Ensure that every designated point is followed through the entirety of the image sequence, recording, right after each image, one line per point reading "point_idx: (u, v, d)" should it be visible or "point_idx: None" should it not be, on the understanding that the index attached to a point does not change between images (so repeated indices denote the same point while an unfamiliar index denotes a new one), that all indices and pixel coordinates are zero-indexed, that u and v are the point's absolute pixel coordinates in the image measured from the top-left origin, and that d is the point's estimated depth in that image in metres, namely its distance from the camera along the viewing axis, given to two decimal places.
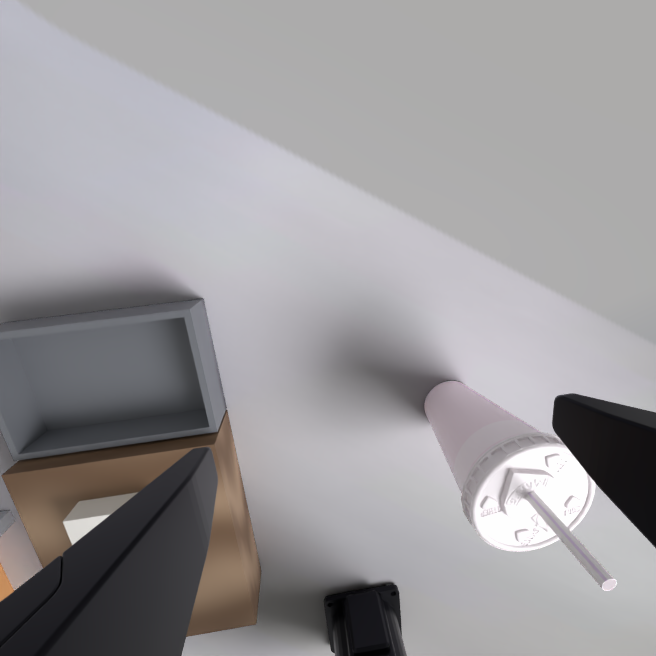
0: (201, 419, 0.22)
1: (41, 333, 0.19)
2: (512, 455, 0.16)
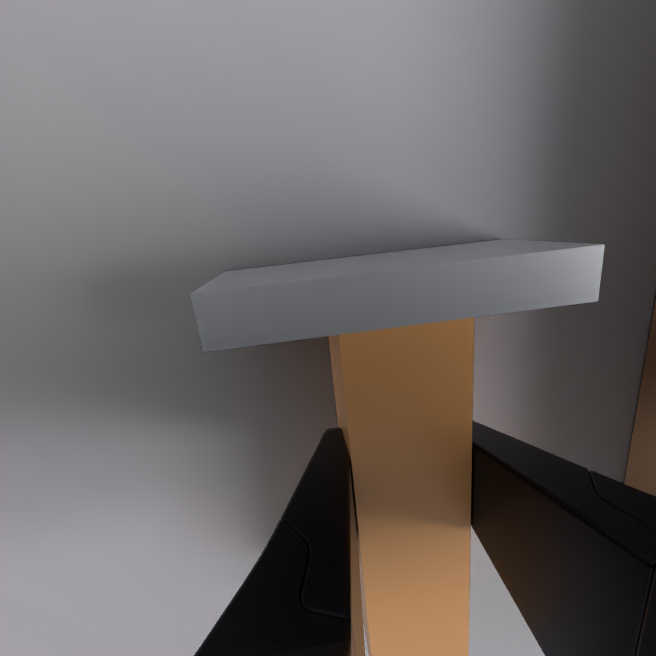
0: None
1: None
2: None
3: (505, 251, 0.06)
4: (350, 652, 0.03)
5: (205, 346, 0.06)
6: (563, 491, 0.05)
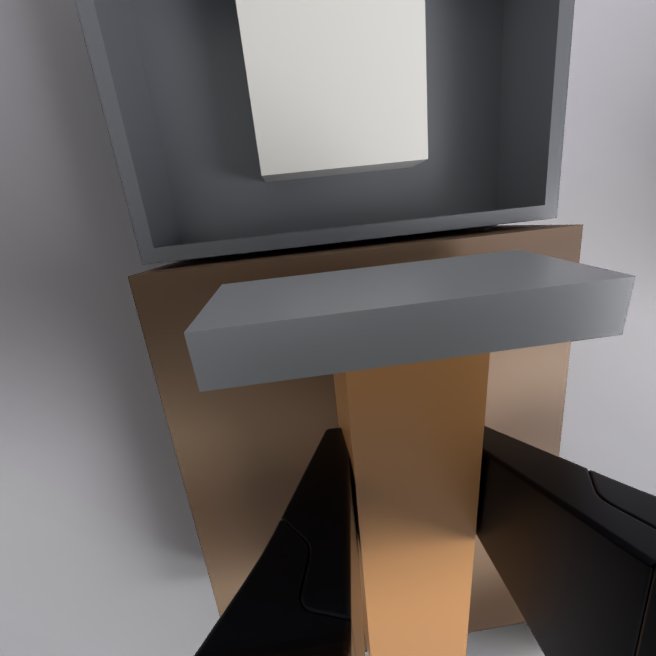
0: (498, 209, 0.11)
1: None
2: None
3: (525, 278, 0.06)
4: (350, 653, 0.03)
5: (202, 386, 0.05)
6: (563, 491, 0.05)
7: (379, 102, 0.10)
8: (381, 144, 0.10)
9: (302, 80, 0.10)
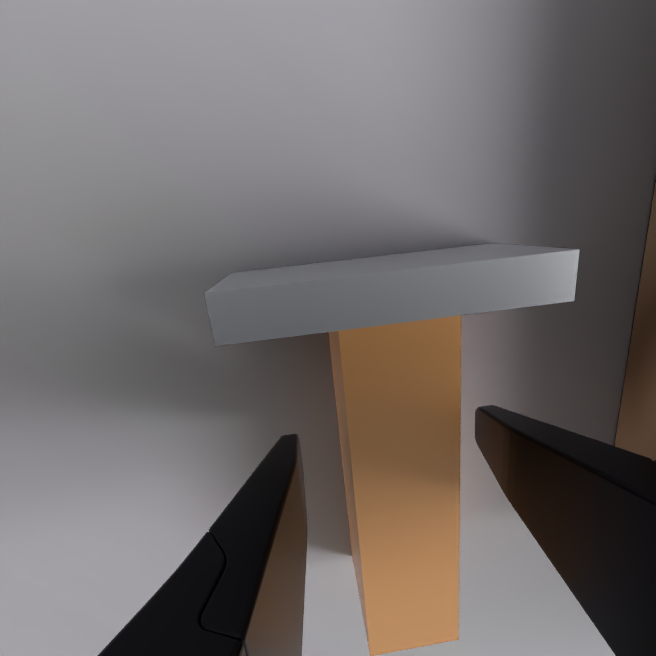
0: None
1: None
2: None
3: (490, 255, 0.07)
4: None
5: (217, 341, 0.06)
6: (633, 480, 0.05)
7: None
8: None
9: None
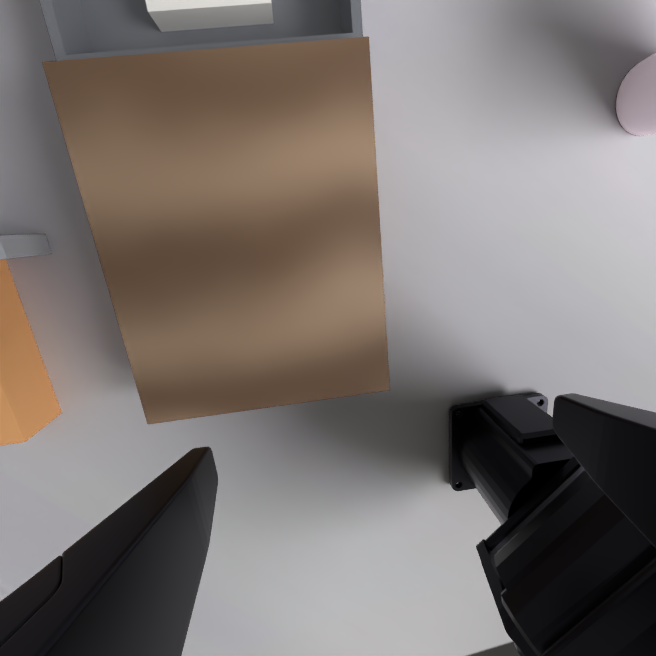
0: None
1: None
2: None
3: None
4: None
5: None
6: None
7: None
8: None
9: None
